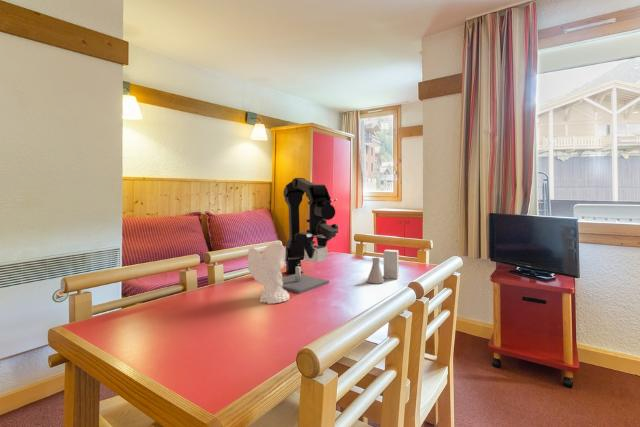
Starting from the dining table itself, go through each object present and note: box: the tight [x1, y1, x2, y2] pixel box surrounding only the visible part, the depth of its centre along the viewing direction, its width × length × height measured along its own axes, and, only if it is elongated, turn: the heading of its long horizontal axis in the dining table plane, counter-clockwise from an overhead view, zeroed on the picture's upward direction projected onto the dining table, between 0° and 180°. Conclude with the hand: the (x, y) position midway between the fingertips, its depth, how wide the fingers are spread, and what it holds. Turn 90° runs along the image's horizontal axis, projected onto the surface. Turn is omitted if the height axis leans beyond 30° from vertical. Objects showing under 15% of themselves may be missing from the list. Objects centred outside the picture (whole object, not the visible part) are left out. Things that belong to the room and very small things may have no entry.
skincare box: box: [383, 249, 400, 280], centre depth 147 cm, size 6×4×12 cm
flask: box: [366, 257, 385, 284], centre depth 141 cm, size 7×7×10 cm
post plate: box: [282, 266, 330, 294], centre depth 137 cm, size 18×18×7 cm
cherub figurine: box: [246, 241, 290, 305], centre depth 118 cm, size 13×12×20 cm
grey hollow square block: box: [303, 244, 329, 263], centre depth 131 cm, size 6×6×5 cm
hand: (315, 256), depth 131 cm, fingers closed on grey hollow square block, 6 cm apart
